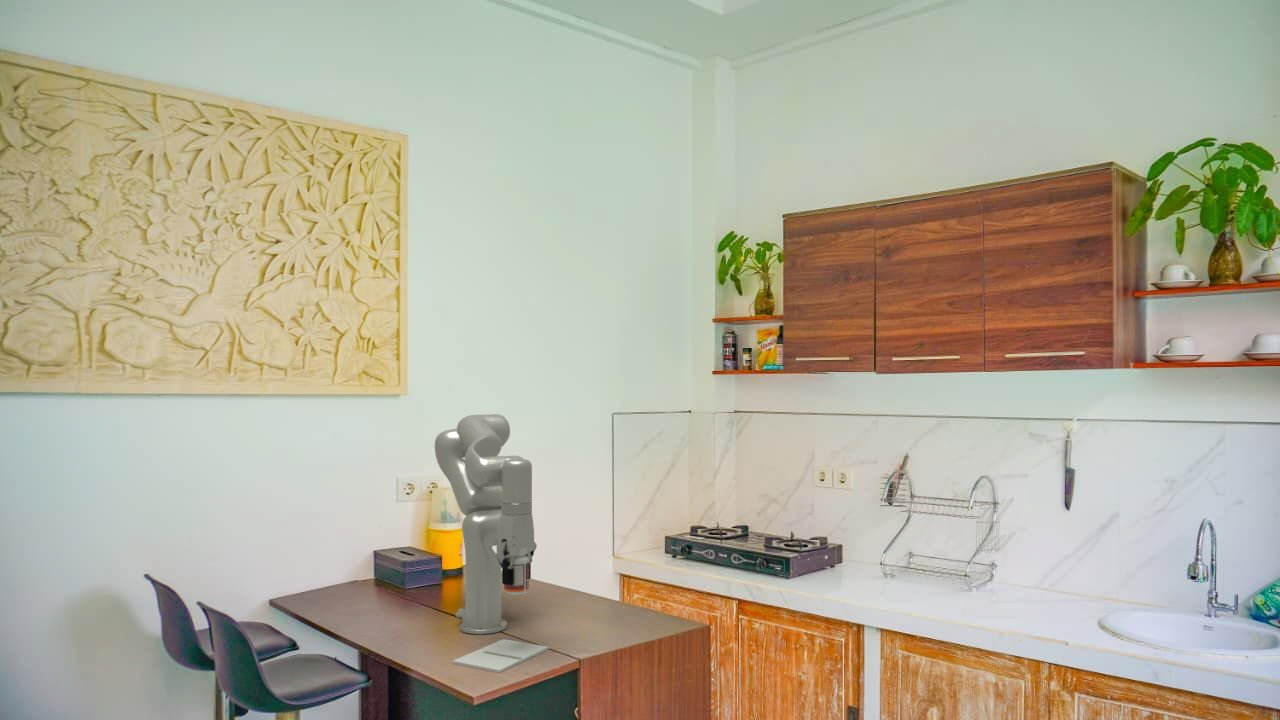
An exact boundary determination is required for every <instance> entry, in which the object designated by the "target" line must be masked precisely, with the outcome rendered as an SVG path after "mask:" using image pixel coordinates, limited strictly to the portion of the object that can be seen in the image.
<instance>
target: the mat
mask: <svg viewBox="0 0 1280 720" xmlns="http://www.w3.org/2000/svg"><path fill="white" fill-rule="evenodd" d="M549 649H550V647H549V646H545V645H539V644H534V643H528V642H522V641H516V640H512V639H506V638H503V639H500V640H497V641H496V642H494V643H492V644H489V645H487V646H484V647H482V648H479V649H477V650H475V651H473V652H470V653H467V654H466V655H465V654H464V655H463V656H461V657H458V658H457V659H454V660H452V662H451V663H452V665H453V664H454V665H459V666H463V667H468V668H474V669H479V670H484V671H488V672H493V673H494V672H495V673H498V674H500V673H502V672H504V671H506V670H508V669H511V668H513V667H514V666H517V665H519V664H521V663H524V662H525V661H527V660H529V659H531V658H534V657H535V656H539V655H540V654H543V653H544V652H547V651H548V650H549Z"/></svg>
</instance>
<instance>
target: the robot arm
mask: <svg viewBox="0 0 1280 720" xmlns="http://www.w3.org/2000/svg"><path fill="white" fill-rule="evenodd" d="M510 435H511V426H510V423H509V422H508V419H507V418H506V417H505V416H504V415H502V414H498V413H497V414H470V415H466V416H464V417H463V418H461V419H460V420H459V421H458V422H457V425H456V428H451V429H447V430H443V431H442V432H440V433H438V435H436V438H435V440H434V452H435V459H436V462H437V464H438V467H439V469H440V470H441V471H442V473H443V475H444V476H445V478H447V480H448V482H449V483H450V486H451V489H452V492H453V494H454V497H455V499H456V502H457V505H458V508H459V511H460V512H461V514H463V515H464V516H465V517H464V518H463V520H462V523H461V531H462V537H463V543H464V551H465V552H464V553H465V556H464V557H465V608H461V607H460V608H458V610H457V612H456V613H455V617H456V618H460V619H462V622H461V623H459V629H460V631H461V632H464V633H467V634H472V635H488V634H493V633H494V634H495V633H498V632H501V631H504V630H506V629H507V627H508V622H507V621H506V620H505V619H502V585H504V584H506V585H514V569H512V566H513V562H514V558H515V557H516V556H518V555H519V553H520V549H521V548H524V547H527V554H525V555H526V556H527V557H528V558H529V580H531V577H532V576H531V575H532V574H531V573H532V572H531V570H532V569H531V568H532V567H531V565H532V562H533V556H534V554H535V551H536V549H537V544H536V542H535V529H534V528H535V527H534V519H533V492H532V490H533V465H532V462H531V461H530V460H528V459H526V458H525V459H524V457H522V456H519V455H499V454H500V452H501V451H502V448H503V446H505V444H506V443H507V441H509V438H510ZM495 546H496V552H495V550H494V549H493V547H495ZM507 553H509V555H507ZM507 558H509V562H508V561H507Z"/></svg>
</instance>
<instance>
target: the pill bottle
mask: <svg viewBox="0 0 1280 720" xmlns="http://www.w3.org/2000/svg"><path fill="white" fill-rule="evenodd" d="M525 554H527V547H524V548H521V549H520V553H519V555H518V556H516V557H515V558H514V562H513V566H512V569H514V585H506V584H503V590H504V593H506V594H508V595H523V594H527V593H528V592H529V590H530V579H529V558H528V557H527V556H526V555H525ZM507 555H509V553H507ZM507 561H508V562H509V558H507Z"/></svg>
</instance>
